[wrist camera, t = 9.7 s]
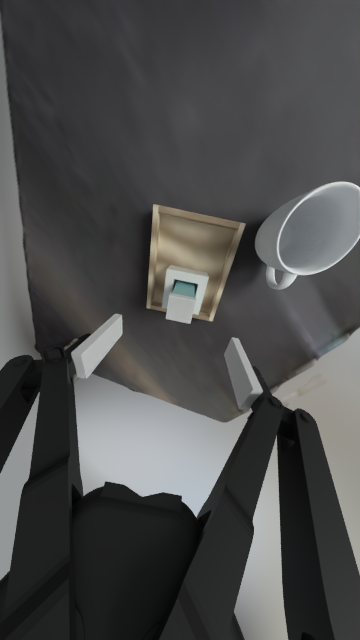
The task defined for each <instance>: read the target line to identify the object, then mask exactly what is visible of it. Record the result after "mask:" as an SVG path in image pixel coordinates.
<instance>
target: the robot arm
mask: <svg viewBox="0 0 360 640" xmlns="http://www.w3.org/2000/svg"><path fill="white" fill-rule="evenodd" d="M121 335H122V315H120V314H114V315H113V316H112V317H111V318H110V319H109V320H108V321H106V322H105V323H104V324H103V325H102V326H101V327H100V328H99V329H97V330H96V331H95V332H94V333H93V334H86V335H84V336H82V337H81V338H79V339H78V340H77V341H76V342H75V343H73V344H72V345H71V346H70V347H68V348H67V349H66V350H65V349H64V347H62V346H51V347H48V348H46V349H44V350H43V351H42V352H41V354H40V355H41V357H42V360H33V358H32V356H30V355H22V356H18V357H15V358H13V359H11V360H9V362H7V363H6V364H5V366H4V367H3V368H2V369H1V370H0V473H1V471H2V469H3V466H4V464H5V462H6V460H7V458H8V456H9V454H10V452H11V450H12V447H13V445H14V443H15V441H16V439H17V437H18V435H19V433H20V431H21V429H22V426H23V424H24V422H25V420H26V418H27V416H28V414H29V412H30V410H31V407H32V405H33V403H34V401H35V399H36V397H37V394H38V393H39V391H40V396H39V404H38V412H37V420H36V428H35V436H34V444H33V452H32V460H31V469H30V475H29V479H28V481H27V482H26V483H25V484H24V487H23V490H22V494H21V499H20V506H19V513H18V520H17V526H16V533H15V540H14V547H13V553H12V560H11V567H10V571H9V572H8V573H7V574H6V575H5V576H4V577H3V578H2V580H0V640H245V639H244V637H243V634H242V632H241V629H240V626H239V624H238V621H237V619H236V616H235V614H234V608H235V604H236V600H237V596H238V593H239V589H240V585H241V581H242V578H243V574H244V570H245V566H246V562H247V559H248V554H249V551H250V547H251V543H252V539H253V535H254V526H253V523H252V521H253V516H254V512H255V509H256V505H257V501H258V498H259V495H260V491H261V487H262V484H263V481H264V477H265V473H266V470H267V467H268V463H269V459H270V456H271V452H272V449H273V446H274V442H275V439H276V435H277V450H278V474H279V475H278V476H279V502H280V503H279V504H280V531H281V556H282V584H283V598H284V609H285V617H286V624H287V633H288V639H289V640H360V575H359V572H358V568H357V564H356V561H355V557H354V554H353V550H352V547H351V543H350V540H349V537H348V533H347V529H346V526H345V522H344V518H343V515H342V511H341V508H340V505H339V501H338V498H337V494H336V490H335V487H334V483H333V480H332V476H331V473H330V469H329V466H328V462H327V458H326V455H325V451H324V448H323V444H322V441H321V437H320V434H319V430H318V427H317V424H316V421H315V420H314V419H313V417H312V416H311V415H310V414H309V413H307V412H306V411H304V410H302V409H296V410H295V411H292V410H290V409H288V408H286V407H284V406H283V405H282V403H281V402H280V401H279V400H278V399H277V398H276V397H274V396H272V394H271V392H270V390H269V388H268V386H267V385H266V383H265V381H264V379H263V377H262V375H261V373H260V371H259V370H258V369H257V368H256V367H254V366H251V364H250V362H249V360H248V358H247V356H246V354H245V352H244V350H243V347H242V345H241V343H240V341H239V339H238V338H233V337H232V338H231V340H230V343H229V345H228V347H227V349H226V351H225V354H224V356H225V360H226V363H227V367H228V371H229V374H230V378H231V382H232V385H233V389H234V392H235V396H236V400H237V403H238V407H239V409H242V410H247V411H248V410H249V409H250V407H251V408H252V411H253V412H252V413H251V414H250V416H249V417H248V421H247V423H246V425H245V427H244V429H243V430H242V433H241V434H240V436H239V438H238V441H237V442H236V444H235V446H234V448H233V450H232V452H231V454H230V456H229V458H228V460H227V462H226V464H225V466H224V468H223V470H222V472H221V474H220V476H219V478H218V480H217V482H216V484H215V486H214V488H213V490H212V492H211V494H210V495H209V497H208V499H207V501H206V502H205V503H204V505H203V507H202V509H201V510H200V512H199V514H198V516H197V518H196V517H195V515H194V514H193V512H192V511H191V510H190V508H189V507H188V506H187V505H186V504H185V503H183V502H182V501H181V499H182V496H179V495H174V494H168V493H159V494H154V495H150V496H145V497H141V496H139V495H138V494H137V493H135V492H134V491H132V490H131V489H129V488H128V487H126V486H125V485H122V484H116V483H111V482H105V485H104V486H103V487H100V488H97V489H95V490H93V491H91V492H89V493H88V494H86V495H85V496H83V487H82V480H81V475H80V464H79V450H78V437H77V423H76V408H75V394H74V379H73V376H74V375H75V373H77V377H80V378H85V379H87V377H89V375H90V374H91V373H92V372H93V370H94V369H95V368H96V367H97V365H98V364H99V363H100V362H101V360H102V359H103V358H104V357H105V355H106V354H107V353H108V352H109V350H110V349H111V348H112V347H113V345H114V344H115V343H116V342H117V340H118V339H119V338H120V337H121Z"/></svg>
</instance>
